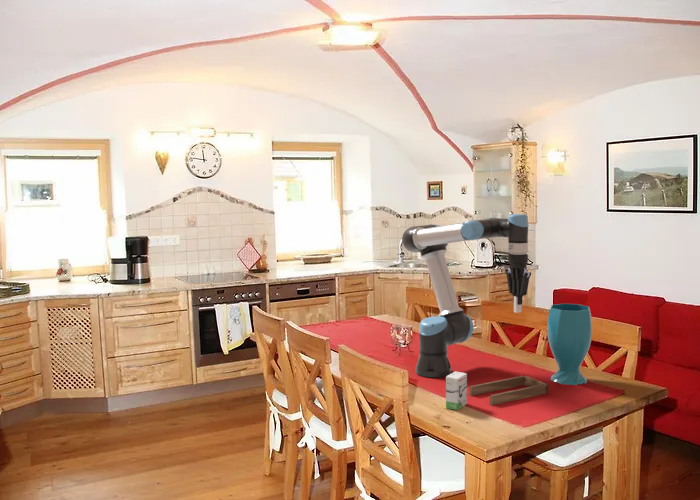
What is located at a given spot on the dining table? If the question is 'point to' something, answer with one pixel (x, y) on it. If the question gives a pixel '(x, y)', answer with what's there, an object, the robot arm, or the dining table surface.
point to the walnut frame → (532, 389)
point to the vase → (569, 340)
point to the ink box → (456, 390)
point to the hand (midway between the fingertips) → (517, 312)
